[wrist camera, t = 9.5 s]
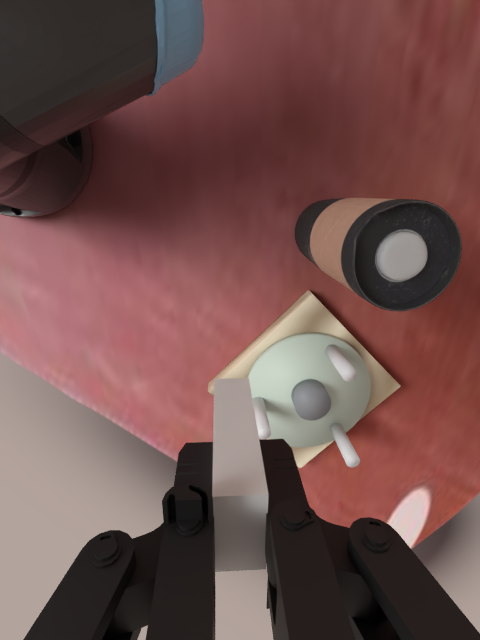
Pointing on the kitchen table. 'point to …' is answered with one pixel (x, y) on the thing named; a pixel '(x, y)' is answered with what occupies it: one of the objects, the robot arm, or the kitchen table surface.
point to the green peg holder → (310, 391)
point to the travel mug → (382, 248)
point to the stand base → (302, 319)
